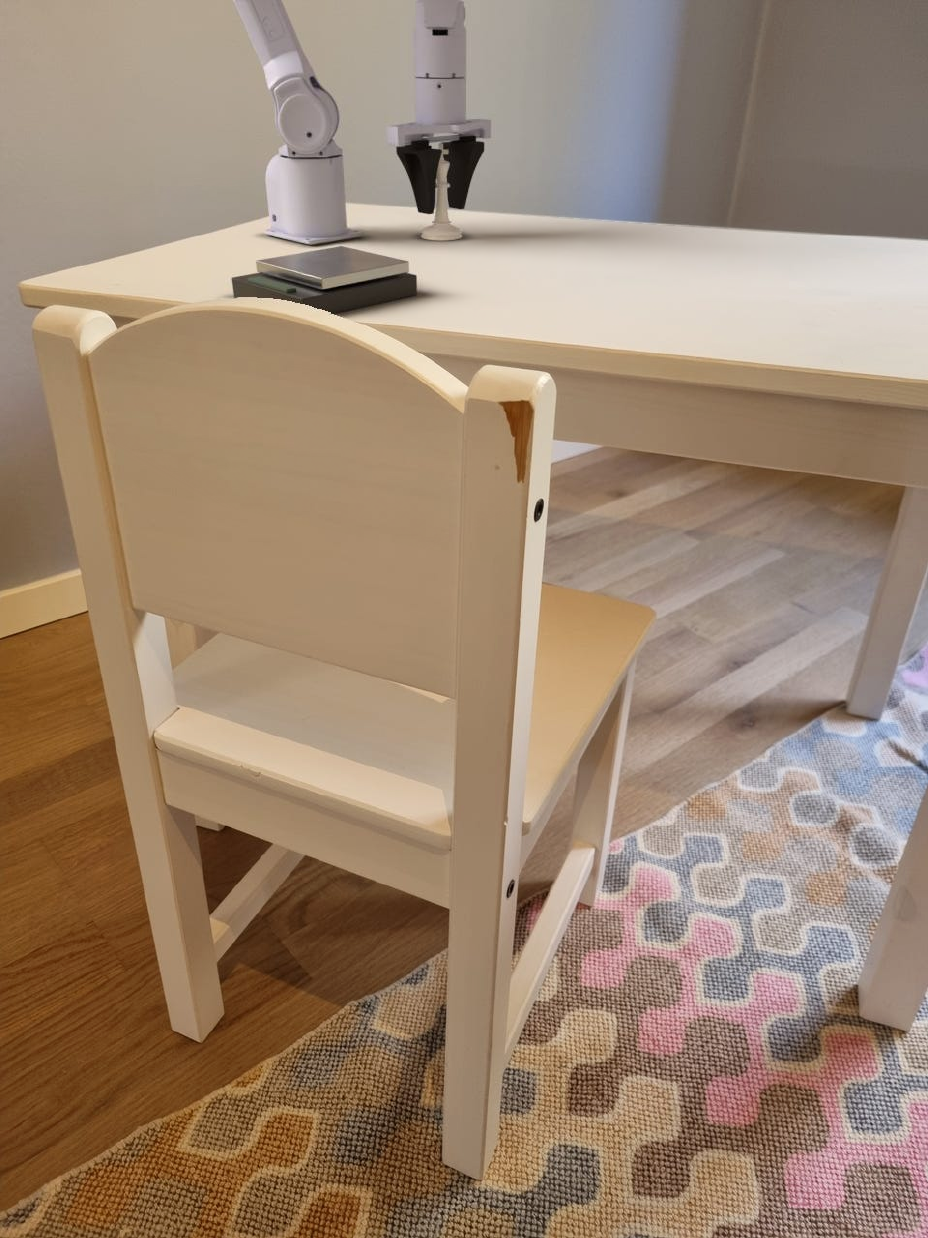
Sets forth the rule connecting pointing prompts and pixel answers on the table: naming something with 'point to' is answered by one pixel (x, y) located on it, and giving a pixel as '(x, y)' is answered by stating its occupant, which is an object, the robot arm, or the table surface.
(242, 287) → the scale
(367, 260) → the scale pan
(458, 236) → the chess piece
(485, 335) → the table surface
